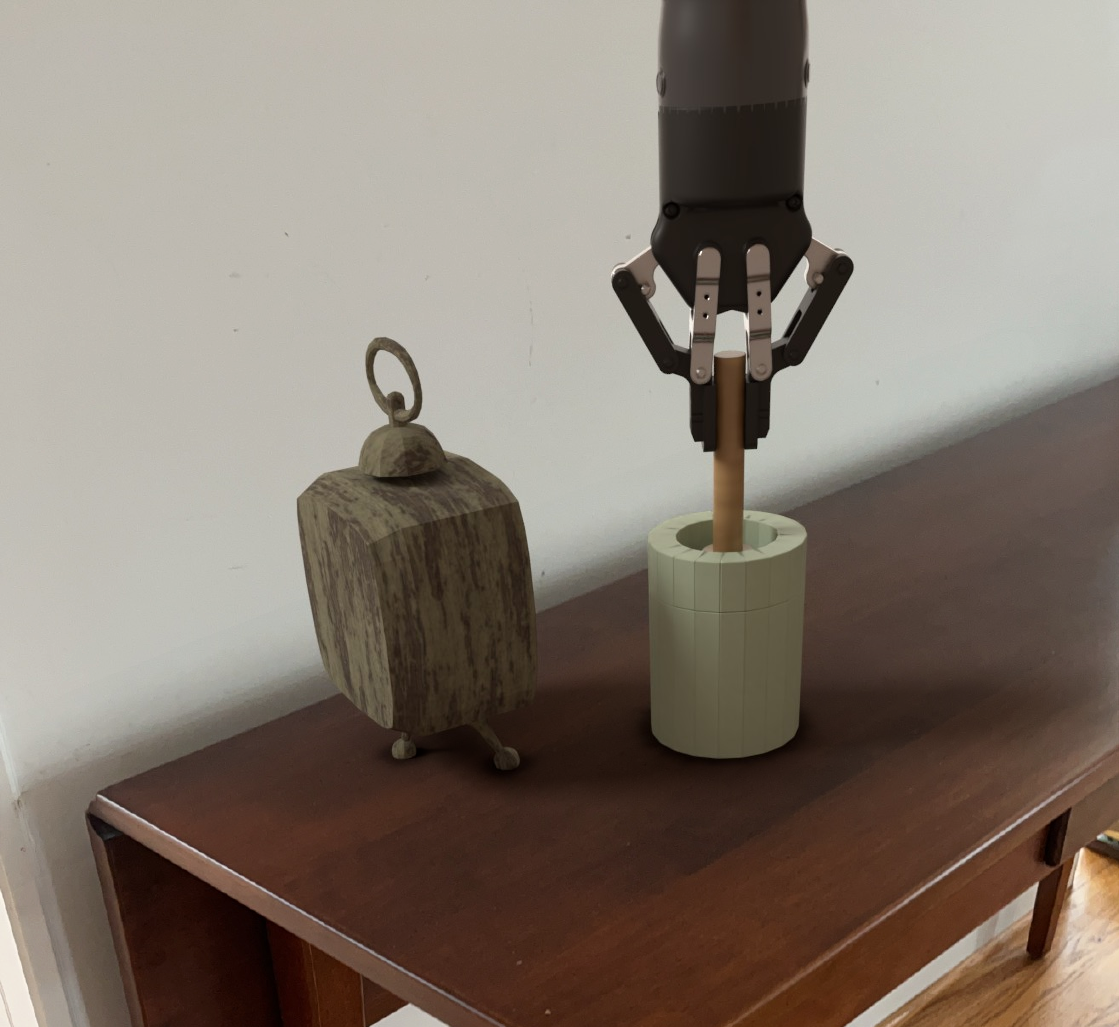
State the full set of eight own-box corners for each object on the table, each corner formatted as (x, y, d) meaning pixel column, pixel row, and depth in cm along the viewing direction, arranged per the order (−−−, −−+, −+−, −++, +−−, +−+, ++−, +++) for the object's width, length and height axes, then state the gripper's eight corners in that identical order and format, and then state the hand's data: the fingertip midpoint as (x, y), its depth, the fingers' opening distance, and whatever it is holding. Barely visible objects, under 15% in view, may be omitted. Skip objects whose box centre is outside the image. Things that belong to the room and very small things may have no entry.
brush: (750, 633, 90) (756, 345, 80) (755, 653, 88) (761, 358, 78) (699, 636, 90) (699, 349, 80) (703, 656, 88) (702, 362, 78)
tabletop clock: (547, 776, 89) (517, 347, 74) (416, 818, 86) (357, 377, 71) (446, 698, 99) (402, 308, 85) (326, 732, 96) (258, 332, 81)
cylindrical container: (788, 699, 96) (796, 505, 88) (806, 763, 89) (816, 557, 81) (649, 706, 97) (645, 513, 89) (654, 770, 89) (651, 565, 81)
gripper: (858, 77, 74) (839, 423, 85) (595, 95, 75) (608, 436, 85) (882, 88, 68) (859, 459, 79) (596, 107, 69) (610, 473, 79)
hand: (728, 446), depth 82 cm, fingers closed on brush, 2 cm apart
